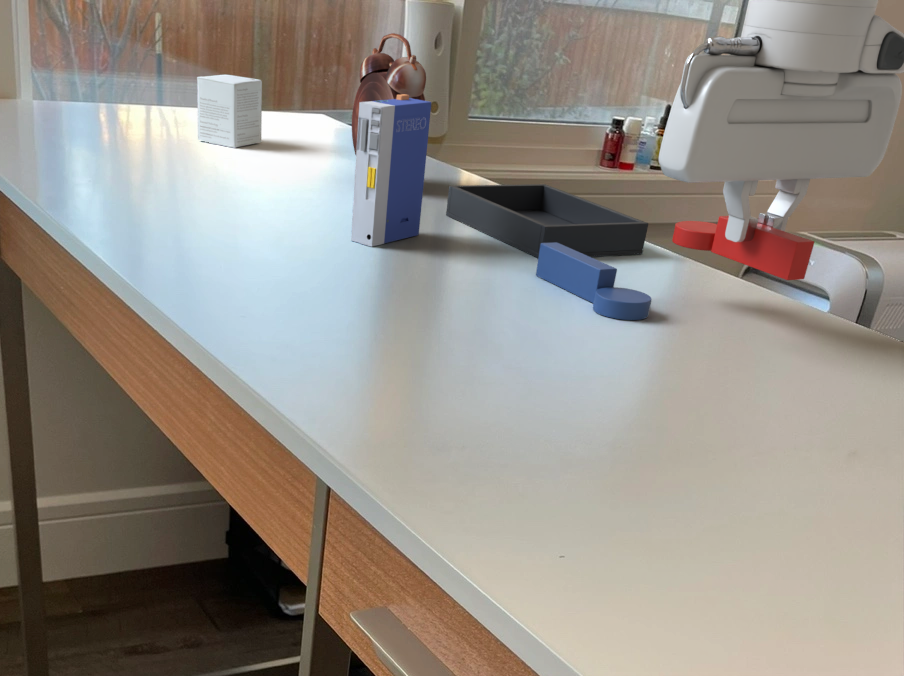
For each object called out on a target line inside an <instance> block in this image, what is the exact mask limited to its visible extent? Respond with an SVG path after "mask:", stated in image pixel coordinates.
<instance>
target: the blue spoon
mask: <svg viewBox="0 0 904 676" xmlns="http://www.w3.org/2000/svg"><path fill="white" fill-rule="evenodd" d="M536 264H537V265H536V272H535V276H536V277H538V278H540V279H542V280H545V281H547V282H549V283H550V284H553V285H554V286H557V287H558V288H561V289H563V290H565V291H567V292H568V293H571V294H573V295H575V296H577V297H579V298H581V299H583V300H585V301H587V302H590V303H591V304H592V311H594V312H595V313H596V314H599V315H600V316H603V317H606V318H610V319H614V320H615V319H616V320H621V321H639V320H640V321H641V320H644V319H647V318H648V317H649V314H650V308H651V304H652V300H653V299H652V297H651V296H650V295H649V294H647V293H645V292H644V291H643V292H642V291H640V290H637V289H632V288H626V287H615V283H616V282H615V281H616V277H617V272H618V268H617V267H614V266H612V265H609V264H608V263H605V262H604V261H603V262H602V261H600V260H598V259H596V258H595V257H589V256H587V255H584V254H582V253H580V252H578V251H575V250H573V249H571V248H568V247H566V246H564V245H562V244H559V243H557V242H554V243H541V245H540V251H539V258H537V263H536Z"/></svg>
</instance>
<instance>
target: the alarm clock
mask: <svg viewBox="0 0 904 676" xmlns="http://www.w3.org/2000/svg"><path fill="white" fill-rule="evenodd" d="M392 38H394V39H397V40H399V41H400V42H401V43H403V45H404V46H405V50H406V56H402V57H399V58H397V59H394V58H393V57H392V56H391V55H389V54H388V53H384V52H383V49H384V46H385V44H386V41H387V40H389V39H392ZM371 53H372V54H370V55H368V56H367V57H365V58H364V59H363V61H362V62H361V64H360V67H359V83H360V84H359V86H358V88H357V91H356V93H355V97H354V101H353V106H352V111H351V136H352V145H353V150H354V154H355V155H354V156H356V150H357V134H358V118H359V103H360V102H369V101H379V100H390V99H396V97H397V95H401V94H405V95H409V98H412V99H417V100H423V101H427V100H426V96H425V94H424V92H425V88H426V83H427V72H426V70H425V68H424V66H423V65H422V64H421V62H419V60H417V56H416V54H412V49H411V44H410V42H409V41H408V39H407V38H406V37H404V36H402V34H398V33H388V34H386V35H383V36H382V37H381V40H380V42H379V45H378V48H376V47H374V48H373V49H372V51H371Z"/></svg>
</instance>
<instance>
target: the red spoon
mask: <svg viewBox="0 0 904 676" xmlns="http://www.w3.org/2000/svg"><path fill="white" fill-rule="evenodd" d="M728 219H729V215H720V216H718V220H717V223H714V222H707V221H699V220H683V221H681V220H680V221H678V222H676V223H675V225H674V230H673V235H672V238H671V239H672V240H671V241H672V243H673V244H674V245H677V246H679V247H682V248H686V249H689V250H690V249H691V250H696V251H708V252H711V253H713V254H715V255H718V256H721V257H723V258H726V259H728V260H731V261H734V262H737V263H738V264H742V265H745V266H748V267H750V268H753V269H755V270H758V271H760V272H764V273H766V274H769V275H772V276H775V277H776V278H780V279H783V280H785V281H796V280H797V281H798V280H804V279H805V278H806V274H807V271H808V267H809V263H810V260H811V256H812V252H813V249H814V245H815V241H814V240H813V239H809V238H806V237H803V236H799V235H796V234H793V233H790V232H787V231H785V232H784V231H781V230H778V229H775V228H772V227H769V226H766V225H763V224H760V223H757V227H756V229H755V230H754V232H755V233H754V237H753V239H752V240H751V241H746V242H733V241H731V240H728V239H726V237H725V232H726V227H727V223H728Z"/></svg>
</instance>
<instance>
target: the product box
mask: <svg viewBox="0 0 904 676" xmlns="http://www.w3.org/2000/svg"><path fill="white" fill-rule="evenodd" d="M196 81H197V83H196V84H197V85H196V86H197V98H196V99H197V140H198V141H199V140H201V141H205V142H204V143H206V142H209V143H208V144H213V145H218V146H223V147H226V148H227V147H228V148H232V149H233V148H234V149H236V148H241V147H244V146H249V145H254V144H259V143H260V144H261V143H262V120H263V119H262V117H263V112H262V108H263V81H262V79H257V78H252V77H246V76H239V75H232V74H215V75H205V76H204V75H203V76H197V77H196ZM201 141H200V142H201Z"/></svg>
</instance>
